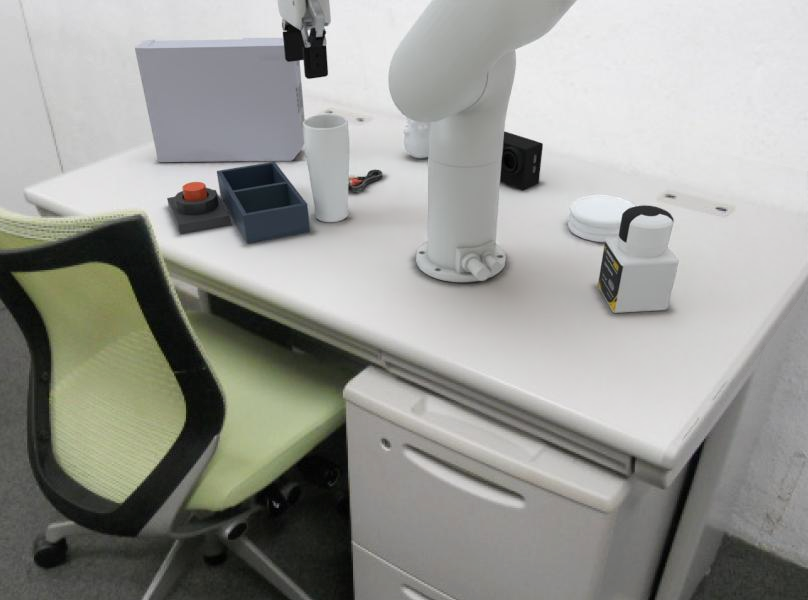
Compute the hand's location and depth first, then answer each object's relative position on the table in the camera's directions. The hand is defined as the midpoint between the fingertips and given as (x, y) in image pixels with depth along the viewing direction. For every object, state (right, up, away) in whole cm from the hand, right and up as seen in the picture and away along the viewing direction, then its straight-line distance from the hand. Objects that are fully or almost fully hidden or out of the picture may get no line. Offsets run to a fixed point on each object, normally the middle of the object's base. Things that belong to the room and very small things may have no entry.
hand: (306, 68), depth 110 cm
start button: (-19, -15, +13) cm, 27 cm away
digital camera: (+32, -9, +23) cm, 41 cm away
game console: (-17, -1, +35) cm, 39 cm away
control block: (-19, -17, +15) cm, 29 cm away
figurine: (+18, -2, +33) cm, 37 cm away
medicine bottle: (+43, -34, -9) cm, 56 cm away
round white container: (+44, -21, +7) cm, 49 cm away
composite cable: (+8, -10, +23) cm, 26 cm away
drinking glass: (+3, -18, +13) cm, 23 cm away
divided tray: (-8, -17, +15) cm, 24 cm away
